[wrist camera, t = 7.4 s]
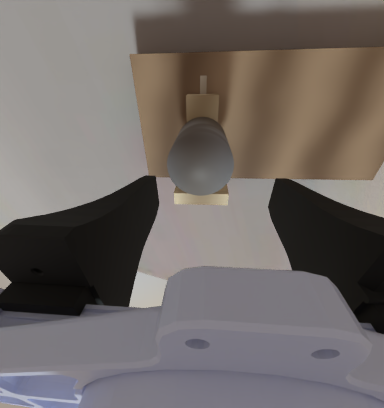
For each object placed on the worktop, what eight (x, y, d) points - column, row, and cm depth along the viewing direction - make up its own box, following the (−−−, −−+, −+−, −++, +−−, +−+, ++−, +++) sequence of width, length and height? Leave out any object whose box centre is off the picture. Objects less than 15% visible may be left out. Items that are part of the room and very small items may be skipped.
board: (423, 48, 14) (453, 44, 12) (358, 171, 20) (373, 180, 18) (138, 56, 15) (129, 54, 14) (153, 169, 21) (149, 177, 19)
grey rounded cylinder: (232, 92, 16) (251, 102, 9) (224, 185, 21) (232, 235, 14) (174, 93, 16) (151, 103, 9) (179, 184, 21) (167, 233, 14)
